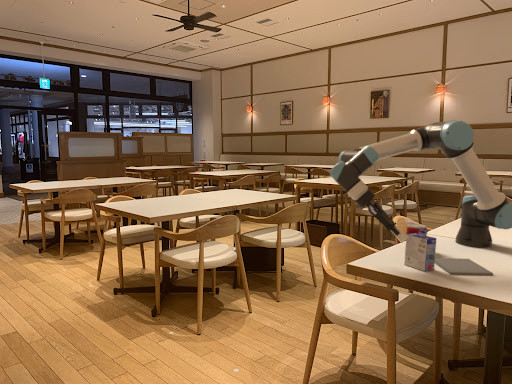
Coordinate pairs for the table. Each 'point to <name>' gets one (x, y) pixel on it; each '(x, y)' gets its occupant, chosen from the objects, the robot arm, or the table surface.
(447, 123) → the robot arm
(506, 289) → the table surface
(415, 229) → the canned food
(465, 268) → the rubber mat
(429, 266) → the ink cartridge box
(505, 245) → the table surface
